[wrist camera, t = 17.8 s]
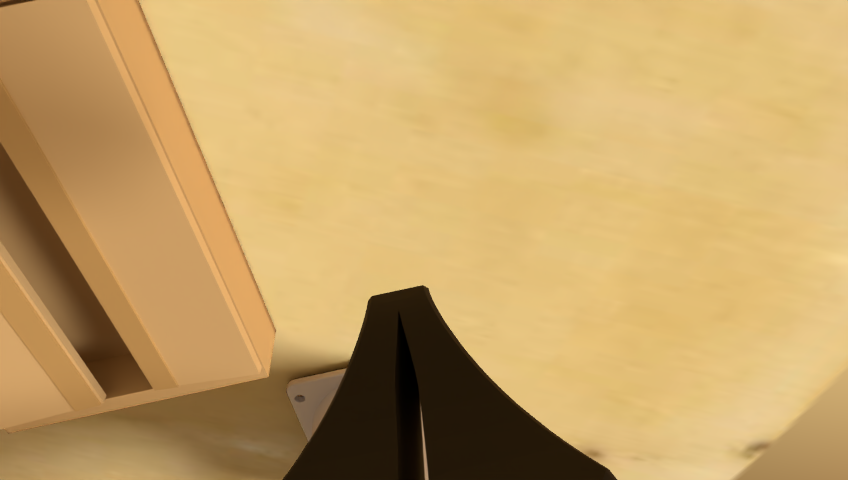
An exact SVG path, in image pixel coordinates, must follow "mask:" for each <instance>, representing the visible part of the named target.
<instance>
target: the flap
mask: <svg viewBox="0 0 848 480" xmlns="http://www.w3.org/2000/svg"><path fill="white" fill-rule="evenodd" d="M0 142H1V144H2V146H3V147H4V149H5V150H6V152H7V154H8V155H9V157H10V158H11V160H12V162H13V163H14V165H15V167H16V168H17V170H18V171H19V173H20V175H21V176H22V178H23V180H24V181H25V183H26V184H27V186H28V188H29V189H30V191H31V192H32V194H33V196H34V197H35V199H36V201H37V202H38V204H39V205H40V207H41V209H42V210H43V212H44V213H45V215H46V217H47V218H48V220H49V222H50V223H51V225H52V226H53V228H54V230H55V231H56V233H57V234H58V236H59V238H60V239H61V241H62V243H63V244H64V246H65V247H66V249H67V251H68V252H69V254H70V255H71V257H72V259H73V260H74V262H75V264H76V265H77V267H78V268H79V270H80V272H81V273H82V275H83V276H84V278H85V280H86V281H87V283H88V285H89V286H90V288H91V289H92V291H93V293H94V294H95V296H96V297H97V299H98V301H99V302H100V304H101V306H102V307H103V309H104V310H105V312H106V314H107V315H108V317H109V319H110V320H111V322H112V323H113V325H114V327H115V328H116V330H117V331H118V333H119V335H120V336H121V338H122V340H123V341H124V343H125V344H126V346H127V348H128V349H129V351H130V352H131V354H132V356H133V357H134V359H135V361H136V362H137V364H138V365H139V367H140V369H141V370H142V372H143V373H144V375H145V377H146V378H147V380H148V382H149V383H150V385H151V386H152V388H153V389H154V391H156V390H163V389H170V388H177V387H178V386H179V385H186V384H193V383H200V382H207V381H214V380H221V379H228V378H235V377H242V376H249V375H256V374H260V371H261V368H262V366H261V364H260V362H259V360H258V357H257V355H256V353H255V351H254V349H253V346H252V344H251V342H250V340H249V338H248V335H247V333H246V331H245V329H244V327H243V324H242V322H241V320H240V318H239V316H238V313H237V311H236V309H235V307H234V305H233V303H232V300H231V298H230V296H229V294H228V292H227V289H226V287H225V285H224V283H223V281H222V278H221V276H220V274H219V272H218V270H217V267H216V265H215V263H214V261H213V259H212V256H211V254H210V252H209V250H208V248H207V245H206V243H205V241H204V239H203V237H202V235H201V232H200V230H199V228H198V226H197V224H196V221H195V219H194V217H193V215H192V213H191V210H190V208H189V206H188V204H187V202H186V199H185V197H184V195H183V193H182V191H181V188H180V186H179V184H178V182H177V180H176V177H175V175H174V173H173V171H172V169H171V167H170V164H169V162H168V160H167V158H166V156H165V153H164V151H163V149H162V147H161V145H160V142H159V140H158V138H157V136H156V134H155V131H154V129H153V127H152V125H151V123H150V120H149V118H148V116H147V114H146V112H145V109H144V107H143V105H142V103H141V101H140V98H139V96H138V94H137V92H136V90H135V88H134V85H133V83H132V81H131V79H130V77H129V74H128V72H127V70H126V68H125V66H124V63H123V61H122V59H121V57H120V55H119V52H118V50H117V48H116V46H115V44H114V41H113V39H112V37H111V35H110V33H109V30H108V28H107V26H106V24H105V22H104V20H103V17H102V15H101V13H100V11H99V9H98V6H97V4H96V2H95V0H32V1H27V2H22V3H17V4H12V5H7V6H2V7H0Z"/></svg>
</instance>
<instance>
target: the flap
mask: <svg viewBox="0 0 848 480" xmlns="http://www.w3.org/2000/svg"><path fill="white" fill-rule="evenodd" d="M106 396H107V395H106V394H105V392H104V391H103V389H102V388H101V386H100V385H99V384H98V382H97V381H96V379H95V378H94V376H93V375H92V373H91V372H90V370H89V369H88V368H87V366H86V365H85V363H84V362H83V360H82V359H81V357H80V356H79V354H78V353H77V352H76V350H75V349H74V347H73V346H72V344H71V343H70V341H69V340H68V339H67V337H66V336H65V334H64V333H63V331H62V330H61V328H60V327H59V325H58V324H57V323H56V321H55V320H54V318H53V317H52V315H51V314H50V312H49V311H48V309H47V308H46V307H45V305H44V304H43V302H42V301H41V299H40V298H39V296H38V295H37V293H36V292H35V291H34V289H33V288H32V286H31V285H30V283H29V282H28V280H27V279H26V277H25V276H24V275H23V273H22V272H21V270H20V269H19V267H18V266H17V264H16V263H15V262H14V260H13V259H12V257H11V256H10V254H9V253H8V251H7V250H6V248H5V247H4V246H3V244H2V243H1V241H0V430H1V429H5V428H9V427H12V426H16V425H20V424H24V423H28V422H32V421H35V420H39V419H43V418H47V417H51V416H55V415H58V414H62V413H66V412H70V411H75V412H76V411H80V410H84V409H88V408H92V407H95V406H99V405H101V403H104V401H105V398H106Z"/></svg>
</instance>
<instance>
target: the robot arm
mask: <svg viewBox="0 0 848 480" xmlns="http://www.w3.org/2000/svg"><path fill="white" fill-rule="evenodd" d="M287 395H288V397H289V399H290V401H291V404H292V406H293V408H294V411H295V413H296V415H297V417H298V420H299V422H300V424H301V427H302V429H303V431H304V433H305V436H306V438H307V440H308V444H307V445H306V447H305V448H304V450H303V451H302V453H301V455H300V456H299V458H298V459H297V460H296V462H295V463H294V465H293V466H292V468H291V469H290V471H289V472H288V473H287V474H286V476H285V477H284V478H283V480H617V479H616V478H615V476H614V475H613V474H612V473H611V472H610V470H609V469H607V468H606V467H604V466H603V465H601V464H599V463H598V462H596V461H594V460H593V459H591V458H589V457H588V456H586V455H585V454H583V453H582V452H580V451H579V450H577V449H576V448H574V447H573V446H571V445H570V444H568V443H567V442H565V441H564V440H563V439H561V438H560V437H558V436H557V435H556V434H554V433H553V432H551V431H550V430H549V429H547V428H546V427H545V426H544V425H542V424H541V423H540V422H539V421H537V420H536V419H535V418H534V417H533V416H531V415H530V414H529V413H528V412H526V411H525V410H524V409H523V408H521V407H520V406H519V405H518V404H517V403H516V402H515V401H513V400H512V399H511V398H510V397H509V396H508V395H507V394H506V393H505V392H504V391H503V390H502V389H501V388H500V387H499V386H498V385H497V384H496V383H495V382H494V381H493V380H492V379H491V378H490V377H489V376H488V375H487V374H486V373H485V372H484V371H483V370H482V369H481V368H480V367H479V365H478V364H477V363H476V362H475V361H474V360H473V358H472V357H471V356H470V355H469V354H468V352H467V351H466V350H465V349H464V347H463V346H462V345H461V344H460V342H459V341H458V339H457V338H456V337H455V335H454V334H453V333H452V331H451V330H450V328H449V327H448V326H447V324H446V323H445V321H444V319H443V318H442V316H441V314H440V313H439V311H438V309H437V308H436V306H435V304H434V302H433V300H432V297H431V295H430V292H429V289H428V288H427V287H425V286H423V285H422V286H417V287H413V288H408V289H403V290H399V291H394V292H389V293H384V294H380V295H375V296H372V297H371V298H370V299H369V301H368V305H367V310H366V314H365V318H364V321H363V325H362V328H361V331H360V334H359V337H358V340H357V343H356V346H355V348H354V351H353V354H352V357H351V359H350V362H349V364H348V367H347V368H345V369H341V370H336V371H331V372H327V373H322V374H318V375H313V376H308V377H304V378H299V379H294V380H292V381H290V382H289V383H288V385H287ZM297 395H302V397H299V396H297Z"/></svg>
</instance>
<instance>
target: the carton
mask: <svg viewBox="0 0 848 480" xmlns="http://www.w3.org/2000/svg"><path fill="white" fill-rule="evenodd" d="M27 1H32V0H0V7H2V6H7V5H12V4H17V3H22V2H27ZM95 2H96V4H97V6H98V9H99V11H100V13H101V15H102V17H103V20H104V22H105V24H106V26H107V28H108V30H109V33H110V35H111V37H112V39H113V41H114V44H115V46H116V48H117V50H118V52H119V55H120V57H121V59H122V61H123V63H124V66H125V68H126V70H127V72H128V74H129V77H130V79H131V81H132V83H133V85H134V88H135V90H136V92H137V94H138V96H139V98H140V101H141V103H142V105H143V107H144V109H145V112H146V114H147V116H148V118H149V120H150V123H151V125H152V127H153V129H154V131H155V134H156V136H157V138H158V140H159V142H160V145H161V147H162V149H163V151H164V153H165V156H166V158H167V160H168V162H169V164H170V167H171V169H172V171H173V173H174V175H175V177H176V180H177V182H178V184H179V186H180V188H181V191H182V193H183V195H184V197H185V199H186V202H187V204H188V206H189V208H190V210H191V213H192V215H193V217H194V219H195V221H196V224H197V226H198V228H199V230H200V232H201V235H202V237H203V239H204V241H205V243H206V245H207V248H208V250H209V252H210V254H211V256H212V259H213V261H214V263H215V265H216V267H217V270H218V272H219V274H220V276H221V278H222V281H223V283H224V285H225V287H226V289H227V292H228V294H229V296H230V298H231V300H232V303H233V305H234V307H235V309H236V311H237V313H238V316H239V318H240V320H241V322H242V324H243V327H244V329H245V331H246V333H247V335H248V338H249V340H250V342H251V344H252V346H253V349H254V351H255V353H256V355H257V357H258V360H259V362H260V364H261V366H262V368H261V371H260V374H256V375H249V376H242V377H235V378H228V379H221V380H214V381H207V382H200V383H193V384H186V385H179V386H178V387H177V388H170V389H163V390H156V391H154V389H153V388H152V386H151V385H150V383H149V382H148V380H147V378H146V377H145V375H144V373H143V372H142V370H141V369H140V367H139V365H138V364H137V362H136V361H135V359H134V357H133V356H132V354H131V352H130V351H129V349H128V348H127V346H126V344H125V343H124V341H123V340H122V338H121V336H120V335H119V333H118V331H117V330H116V328H115V327H114V325H113V323H112V322H111V320H110V319H109V317H108V315H107V314H106V312H105V310H104V309H103V307H102V306H101V304H100V302H99V301H98V299H97V297H96V296H95V294H94V293H93V291H92V289H91V288H90V286H89V285H88V283H87V281H86V280H85V278H84V276H83V275H82V273H81V272H80V270H79V268H78V267H77V265H76V264H75V262H74V260H73V259H72V257H71V255H70V254H69V252H68V251H67V249H66V247H65V246H64V244H63V243H62V241H61V239H60V238H59V236H58V234H57V233H56V231H55V230H54V228H53V226H52V225H51V223H50V222H49V220H48V218H47V217H46V215H45V213H44V212H43V210H42V209H41V207H40V205H39V204H38V202H37V201H36V199H35V197H34V196H33V194H32V192H31V191H30V189H29V188H28V186H27V184H26V183H25V181H24V180H23V178H22V176H21V175H20V173H19V171H18V170H17V168H16V167H15V165H14V163H13V162H12V160H11V158H10V157H9V155H8V154H7V152H6V150H5V149H4V147H3V146H2V144H1V142H0V241H1V243H2V244H3V246H4V247H5V248H6V250H7V251H8V253H9V254H10V256H11V257H12V259H13V260H14V262H15V263H16V264H17V266H18V267H19V269H20V270H21V272H22V273H23V275H24V276H25V277H26V279H27V280H28V282H29V283H30V285H31V286H32V288H33V289H34V291H35V292H36V293H37V295H38V296H39V298H40V299H41V301H42V302H43V304H44V305H45V307H46V308H47V309H48V311H49V312H50V314H51V315H52V317H53V318H54V320H55V321H56V323H57V324H58V325H59V327H60V328H61V330H62V331H63V333H64V334H65V336H66V337H67V339H68V340H69V341H70V343H71V344H72V346H73V347H74V349H75V350H76V352H77V353H78V354H79V356H80V357H81V359H82V360H83V362H84V363H85V365H86V366H87V368H88V369H89V370H90V372H91V373H92V375H93V376H94V378H95V379H96V381H97V382H98V384H99V385H100V386H101V388H102V389H103V391H104V392H105V394H106V395H107V396H106V398H105V401H104V403H101V405H99V406H95V407H92V408H88V409H84V410H80V411H76V412H75V411H70V412H66V413H62V414H58V415H55V416H51V417H47V418H43V419H39V420H35V421H32V422H28V423H24V424H20V425H16V426H12V427H9V428H5V430H6V431H7V432H8V433H12V432H17V431H22V430H26V429H31V428H35V427H40V426H45V425H49V424H54V423H59V422H63V421H68V420H72V419H77V418H82V417H86V416H91V415H96V414H100V413H105V412H109V411H114V410H119V409H123V408H128V407H132V406H137V405H142V404H146V403H151V402H156V401H160V400H165V399H169V398H174V397H179V396H183V395H188V394H193V393H197V392H202V391H206V390H211V389H216V388H220V387H225V386H230V385H234V384H239V383H243V382H248V381H253V380H257V379H262V378H267V377H268V376H269V370H270V364H271V358H272V351H273V345H274V339H275V332H276V330H275V327H274V325H273V322H272V320H271V318H270V315H269V313H268V310H267V308H266V306H265V303H264V301H263V298H262V296H261V294H260V291H259V289H258V286H257V284H256V282H255V279H254V277H253V274H252V272H251V270H250V267H249V265H248V262H247V260H246V258H245V255H244V253H243V250H242V248H241V246H240V243H239V241H238V238H237V236H236V234H235V231H234V229H233V226H232V224H231V222H230V219H229V217H228V214H227V212H226V210H225V207H224V205H223V202H222V200H221V198H220V195H219V193H218V190H217V188H216V186H215V183H214V181H213V178H212V176H211V174H210V171H209V169H208V166H207V164H206V162H205V159H204V157H203V154H202V152H201V150H200V147H199V145H198V142H197V140H196V138H195V135H194V133H193V130H192V128H191V126H190V123H189V121H188V118H187V116H186V114H185V111H184V109H183V106H182V104H181V102H180V99H179V97H178V94H177V92H176V90H175V87H174V85H173V82H172V80H171V78H170V75H169V73H168V70H167V68H166V66H165V63H164V61H163V58H162V56H161V54H160V51H159V49H158V47H157V44H156V42H155V39H154V37H153V35H152V32H151V30H150V27H149V25H148V23H147V20H146V18H145V15H144V13H143V11H142V8H141V6H140V3H139V1H138V0H95Z"/></svg>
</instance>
